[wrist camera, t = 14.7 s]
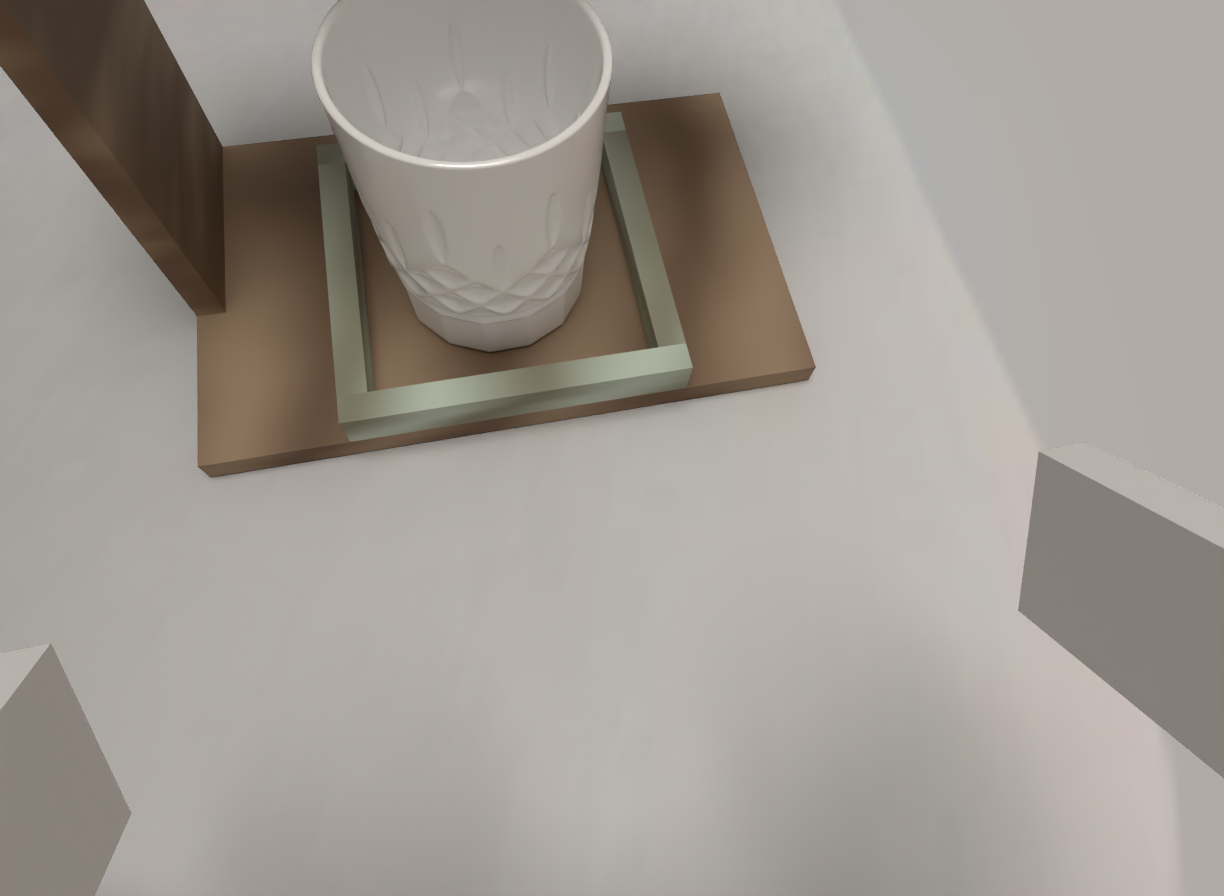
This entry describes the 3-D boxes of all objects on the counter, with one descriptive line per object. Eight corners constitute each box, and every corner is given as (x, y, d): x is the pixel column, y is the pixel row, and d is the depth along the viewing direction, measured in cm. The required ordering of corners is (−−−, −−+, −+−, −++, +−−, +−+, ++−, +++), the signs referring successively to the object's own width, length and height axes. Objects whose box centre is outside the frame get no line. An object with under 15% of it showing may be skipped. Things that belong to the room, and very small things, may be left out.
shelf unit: (210, 477, 27) (-491, -127, 9) (207, 167, 32) (-239, -601, 14) (807, 379, 30) (1175, -222, 12) (715, 110, 35) (873, -587, 17)
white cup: (359, 341, 28) (262, 130, 19) (426, 178, 31) (369, -72, 22) (570, 388, 28) (574, 197, 19) (616, 219, 31) (638, -17, 22)
